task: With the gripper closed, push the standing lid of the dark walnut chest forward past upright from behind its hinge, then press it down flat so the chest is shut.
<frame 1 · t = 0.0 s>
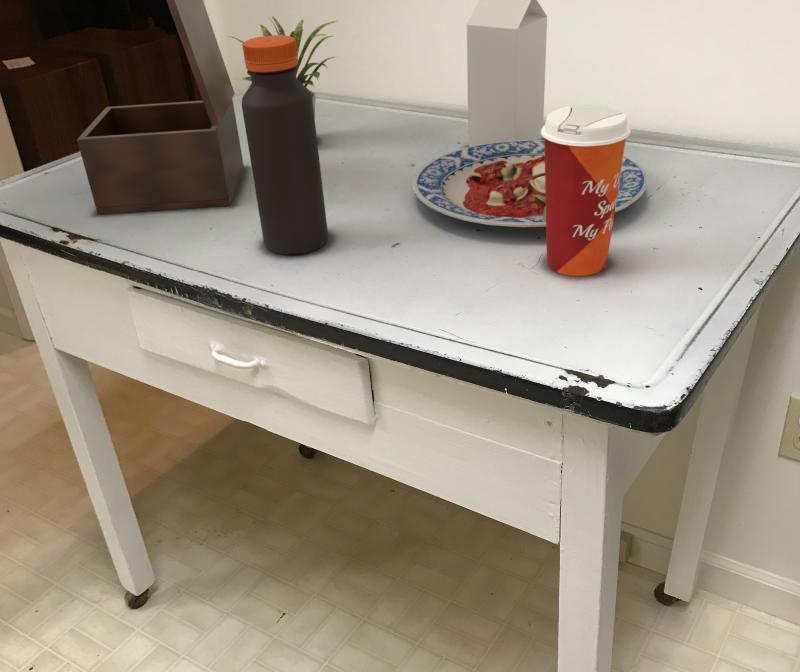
milk carton: (505, 144, 112), on the table
lid: (216, 31, 94), point 18 cm above the table, hinge at 80.0°
house plant: (305, 144, 117), on the table
paper cup: (576, 264, 82), on the table
chest: (174, 190, 105), on the table
bottle: (296, 244, 90), on the table
ceramic plate: (527, 197, 97), on the table
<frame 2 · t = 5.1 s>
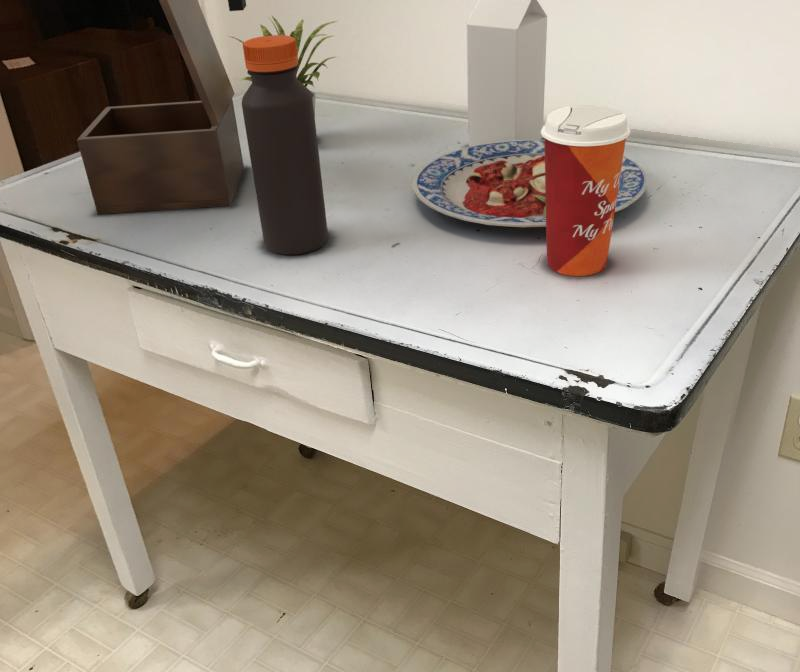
hand: (238, 8, 93), 20 cm above the table, tool pointing down, fingers closed
lid: (212, 31, 94), point 18 cm above the table, hinge at 76.9°
everything else where it was.
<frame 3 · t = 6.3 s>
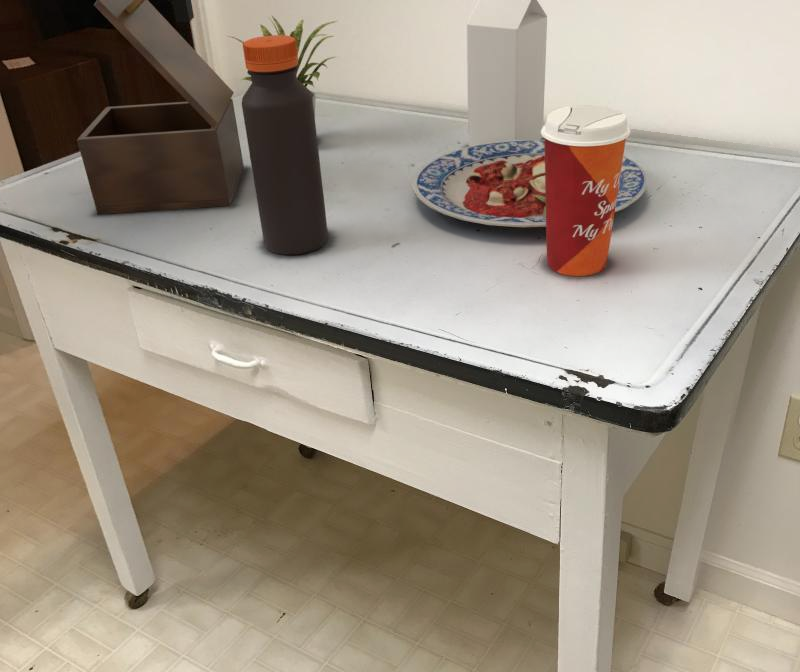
hand: (185, 19, 94), 19 cm above the table, tool pointing down, fingers closed
lid: (183, 39, 95), point 17 cm above the table, hinge at 53.3°, touching gripper
everything else where it was.
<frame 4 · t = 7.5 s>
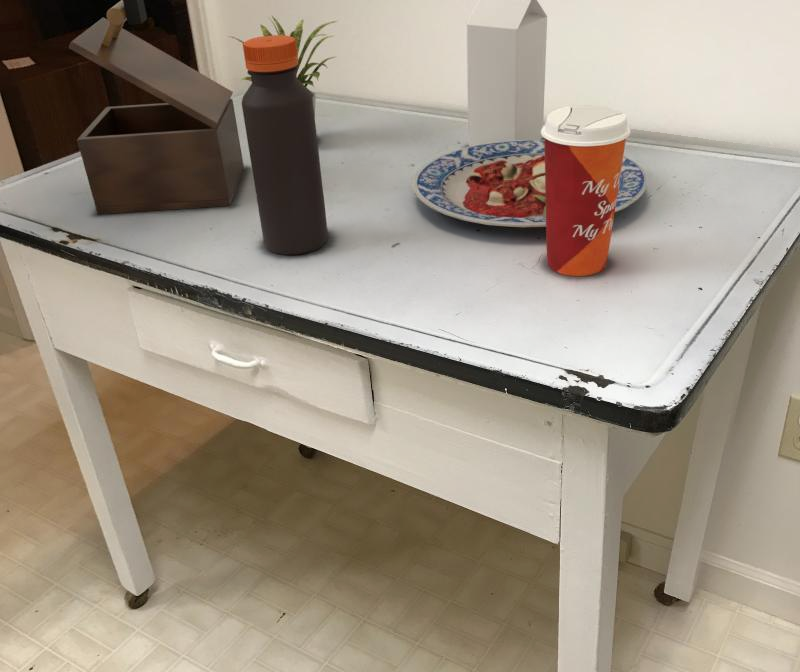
hand: (137, 21, 94), 19 cm above the table, tool pointing down, fingers closed
lid: (164, 54, 96), point 16 cm above the table, hinge at 34.5°, touching gripper
everything else where it was.
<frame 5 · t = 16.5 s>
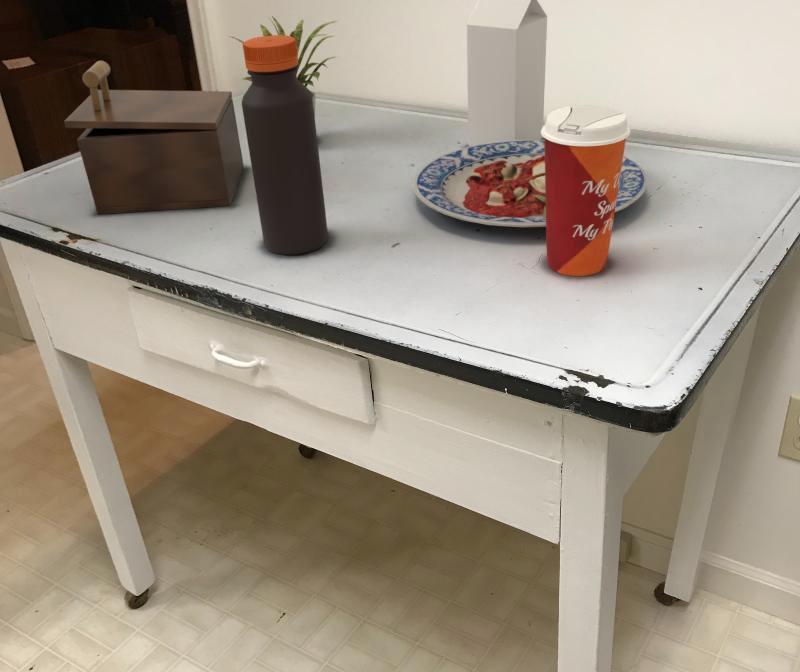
lid: (150, 89, 98), point 12 cm above the table, hinge at 4.4°
everything else where it was.
at the end: lid at +4° (first picture: +80°); bottle moved 0.2 cm from its start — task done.
